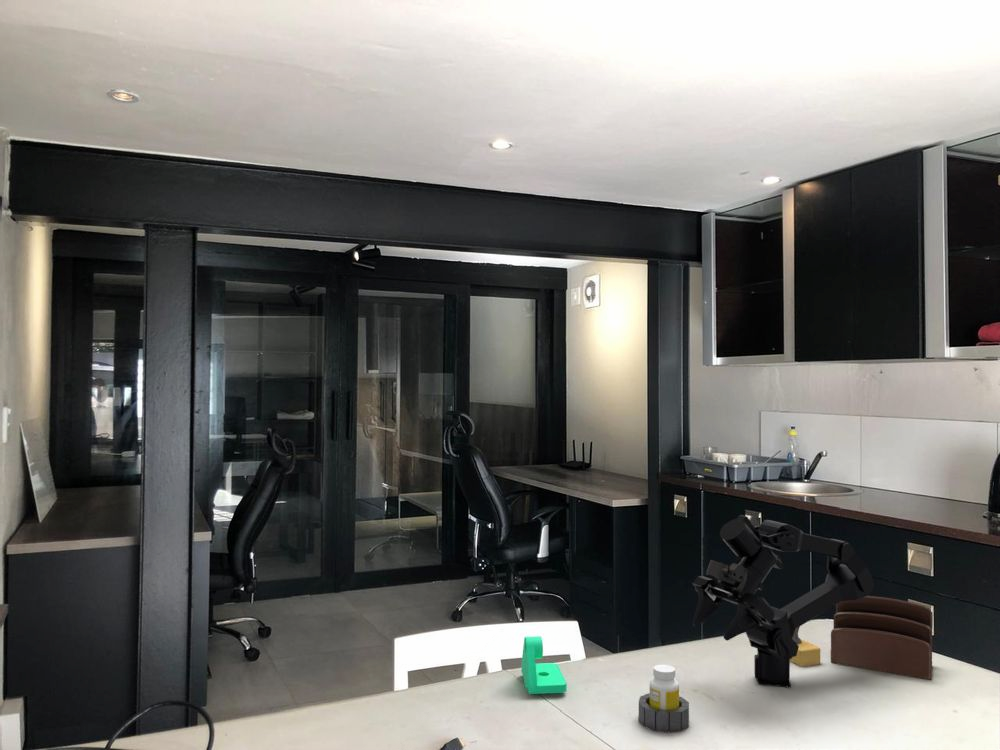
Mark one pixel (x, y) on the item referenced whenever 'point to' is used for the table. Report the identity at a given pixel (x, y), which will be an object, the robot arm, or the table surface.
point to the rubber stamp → (805, 652)
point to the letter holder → (883, 636)
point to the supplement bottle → (664, 688)
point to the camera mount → (540, 670)
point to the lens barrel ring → (663, 716)
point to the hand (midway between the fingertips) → (709, 632)
